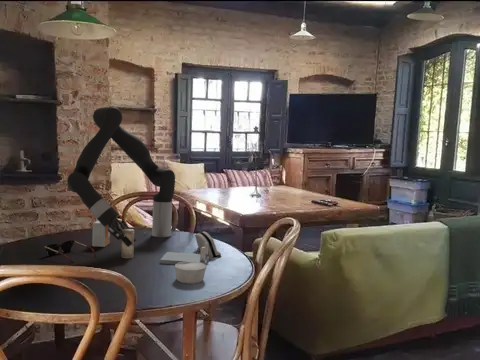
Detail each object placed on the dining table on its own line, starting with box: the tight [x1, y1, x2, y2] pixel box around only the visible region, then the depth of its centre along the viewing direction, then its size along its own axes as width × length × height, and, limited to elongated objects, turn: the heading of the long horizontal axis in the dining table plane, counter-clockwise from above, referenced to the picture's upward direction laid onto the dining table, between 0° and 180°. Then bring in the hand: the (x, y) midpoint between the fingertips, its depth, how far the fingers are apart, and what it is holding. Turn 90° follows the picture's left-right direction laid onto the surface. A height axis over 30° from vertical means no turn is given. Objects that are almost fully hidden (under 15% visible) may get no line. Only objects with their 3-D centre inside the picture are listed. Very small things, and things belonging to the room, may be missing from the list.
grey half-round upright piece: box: [194, 231, 222, 259], centre depth 201 cm, size 17×5×10 cm, turn 23°
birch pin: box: [120, 228, 135, 259], centre depth 188 cm, size 5×5×11 cm
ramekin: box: [174, 262, 207, 284], centre depth 164 cm, size 11×11×5 cm
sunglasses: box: [44, 239, 97, 264], centre depth 185 cm, size 14×16×5 cm
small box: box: [91, 220, 111, 248], centre depth 205 cm, size 8×6×10 cm
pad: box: [159, 242, 210, 266], centre depth 187 cm, size 12×18×7 cm, turn 86°
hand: (132, 243), depth 188 cm, fingers closed on birch pin, 4 cm apart
